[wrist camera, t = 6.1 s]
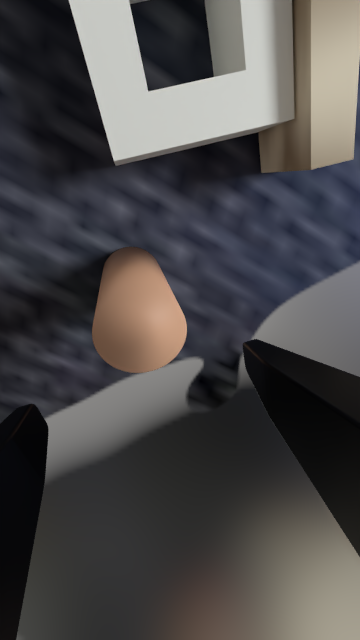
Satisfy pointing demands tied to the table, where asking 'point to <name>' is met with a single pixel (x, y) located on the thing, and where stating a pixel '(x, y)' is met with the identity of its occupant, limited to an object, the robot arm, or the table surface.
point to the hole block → (194, 97)
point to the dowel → (136, 314)
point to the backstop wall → (318, 89)
